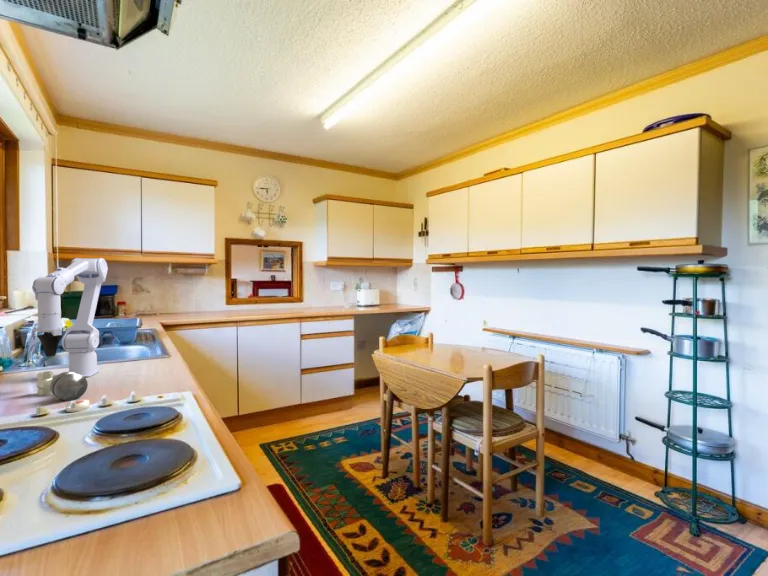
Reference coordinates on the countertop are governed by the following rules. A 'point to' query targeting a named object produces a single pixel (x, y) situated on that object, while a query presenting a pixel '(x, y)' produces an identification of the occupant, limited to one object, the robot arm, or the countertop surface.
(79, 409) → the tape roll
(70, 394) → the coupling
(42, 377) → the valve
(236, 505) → the countertop surface
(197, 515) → the countertop surface
